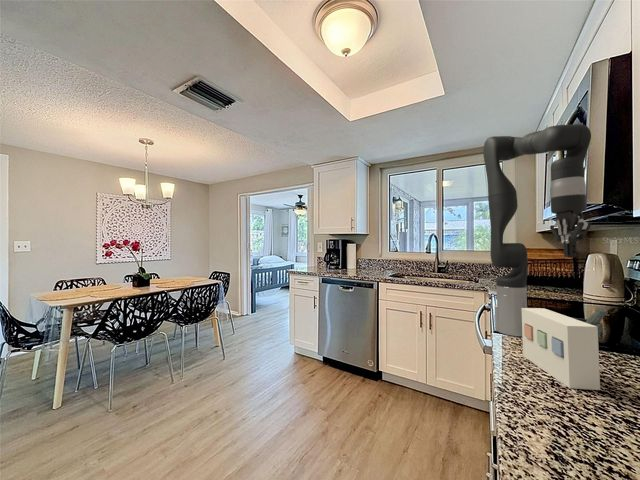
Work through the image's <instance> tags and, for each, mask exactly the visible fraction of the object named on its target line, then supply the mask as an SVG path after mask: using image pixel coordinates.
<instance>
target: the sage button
mask: <svg viewBox="0 0 640 480" xmlns="http://www.w3.org/2000/svg"><path fill="white" fill-rule="evenodd" d="M537 343H538V344H540V345H542V346H543V347H547V333H545V332H543V331H537Z"/></svg>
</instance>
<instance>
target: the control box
mask: <svg viewBox="0 0 640 480" xmlns="http://www.w3.org/2000/svg"><path fill="white" fill-rule="evenodd" d="M574 318H575V317H570V316H567V315H565V314H561V313H558V312H556V311H553V310H550V309H547V308H544V307H543V308H541V307H538V308H537V307H527V308H522V336H521V338H522V356H523V357H524V358H525V359H527V360H528V361H530V362H531V363H532V364H534V365H535V366H536V367H538V368H540V369H541V370H543V371H544V372H546V373H547V374H549V376H552V377H553V379H556V380H557V381H559V382H560V383H562V385H564V386H565V387H567V388H569V389H576V390H578V389H579V390H589V391H590V390H594V391H601V382H600V379H601V378H600V377H601V376H600V374H601V373H600V357H599V356H600V354H599V353H600V352H599V337H598V327H597V326H594V325H591V324H588V323H585V322H582V321H579V320H576V319H574ZM524 325H530V326H532V327H533V340H531V339H529V338H527V337H526V336H524ZM537 331H543V332H545V333H547V347H543V346H542V345H540V344H538V343H537ZM551 338H557V339H559V340H561V341H563V344H564V356H559V355H557V354H556V353H554V352H552V343H551Z"/></svg>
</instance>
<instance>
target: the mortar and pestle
mask: <svg viewBox="0 0 640 480" xmlns="http://www.w3.org/2000/svg"><path fill="white" fill-rule="evenodd" d="M608 313H609V312H608V311H607V310H605V309H604V308H602V307H597V308H595V311H594V312H593V313H592V314H591V315H590V317H588V318H587V319H586V318H577V317H573V318H574V319H576V320H579V321H582V322H585V323H588V324H591V325H594V326H597V327H598V338H599V337H600V335H601V334H602V332H603V323H601V321H602V320H603V319H604V317H605V316H606V315H608Z"/></svg>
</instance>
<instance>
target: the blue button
mask: <svg viewBox="0 0 640 480" xmlns="http://www.w3.org/2000/svg"><path fill="white" fill-rule="evenodd" d="M551 343H552V352H554V353H556V354H557V355H559V356H564V344H563V341H561V340H559V339H557V338H551Z"/></svg>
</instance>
